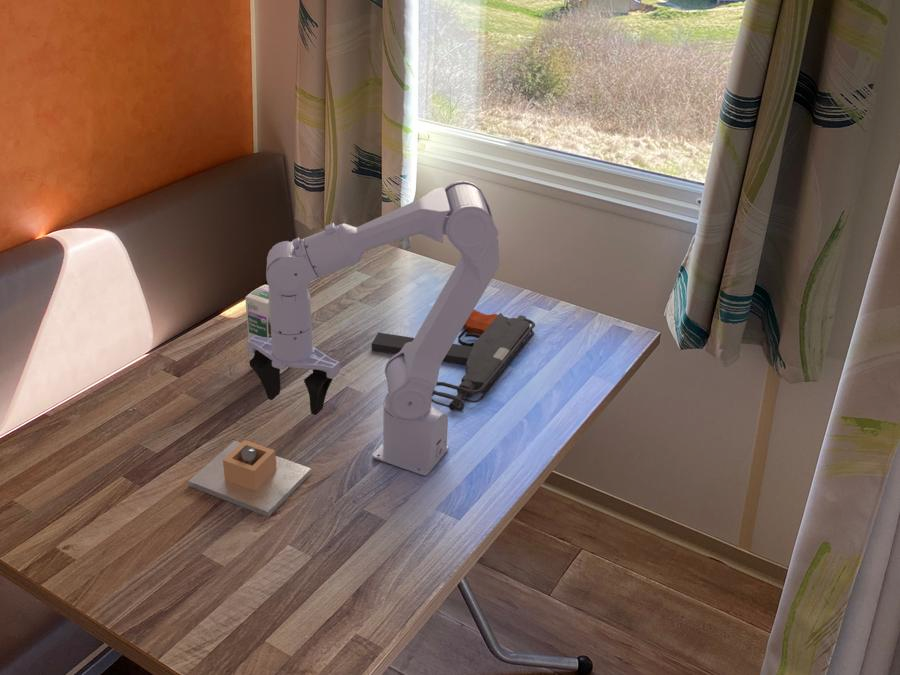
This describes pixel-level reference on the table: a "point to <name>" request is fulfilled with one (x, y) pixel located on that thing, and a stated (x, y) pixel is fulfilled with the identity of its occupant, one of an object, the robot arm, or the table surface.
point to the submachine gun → (474, 352)
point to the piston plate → (257, 501)
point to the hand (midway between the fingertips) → (295, 403)
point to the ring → (250, 466)
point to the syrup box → (259, 315)
